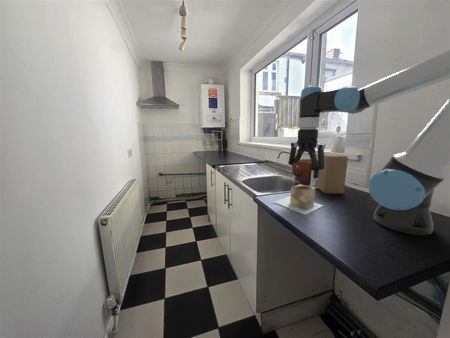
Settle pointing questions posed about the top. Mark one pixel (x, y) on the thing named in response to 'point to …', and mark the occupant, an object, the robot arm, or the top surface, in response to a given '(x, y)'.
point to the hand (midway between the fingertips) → (303, 183)
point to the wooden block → (333, 174)
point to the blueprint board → (286, 203)
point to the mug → (303, 171)
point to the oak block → (302, 196)
